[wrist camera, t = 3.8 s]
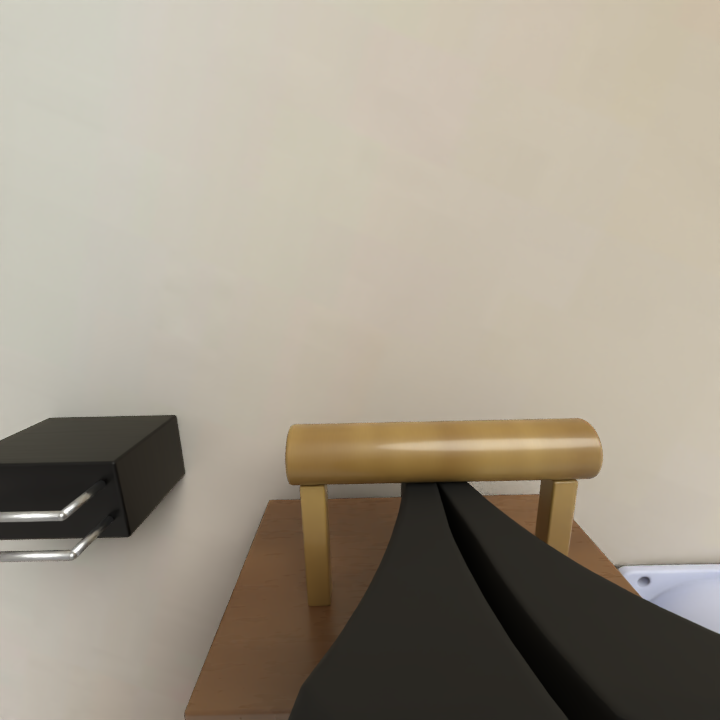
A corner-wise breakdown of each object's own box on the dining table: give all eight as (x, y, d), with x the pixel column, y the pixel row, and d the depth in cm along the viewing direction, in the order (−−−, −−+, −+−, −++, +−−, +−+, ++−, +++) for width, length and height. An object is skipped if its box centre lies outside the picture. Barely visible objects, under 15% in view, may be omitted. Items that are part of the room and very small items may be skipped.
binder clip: (49, 417, 14) (-130, 498, 9) (177, 414, 14) (72, 494, 9) (64, 476, 14) (-95, 584, 9) (186, 473, 14) (93, 580, 9)
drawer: (257, 377, 12) (140, 494, 6) (566, 370, 12) (807, 480, 6) (292, 747, 17) (248, 1057, 10) (521, 743, 17) (628, 1052, 10)
